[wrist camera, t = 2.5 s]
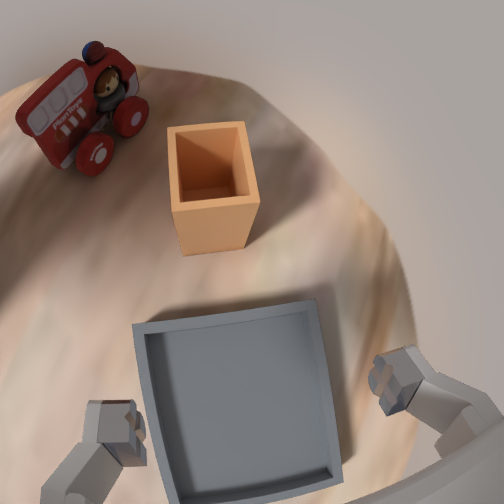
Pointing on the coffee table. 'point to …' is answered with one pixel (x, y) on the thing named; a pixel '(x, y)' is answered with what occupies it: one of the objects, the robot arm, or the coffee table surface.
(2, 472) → the coffee table surface
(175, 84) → the coffee table surface
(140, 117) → the toy fire truck
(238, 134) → the box
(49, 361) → the coffee table surface
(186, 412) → the tray
